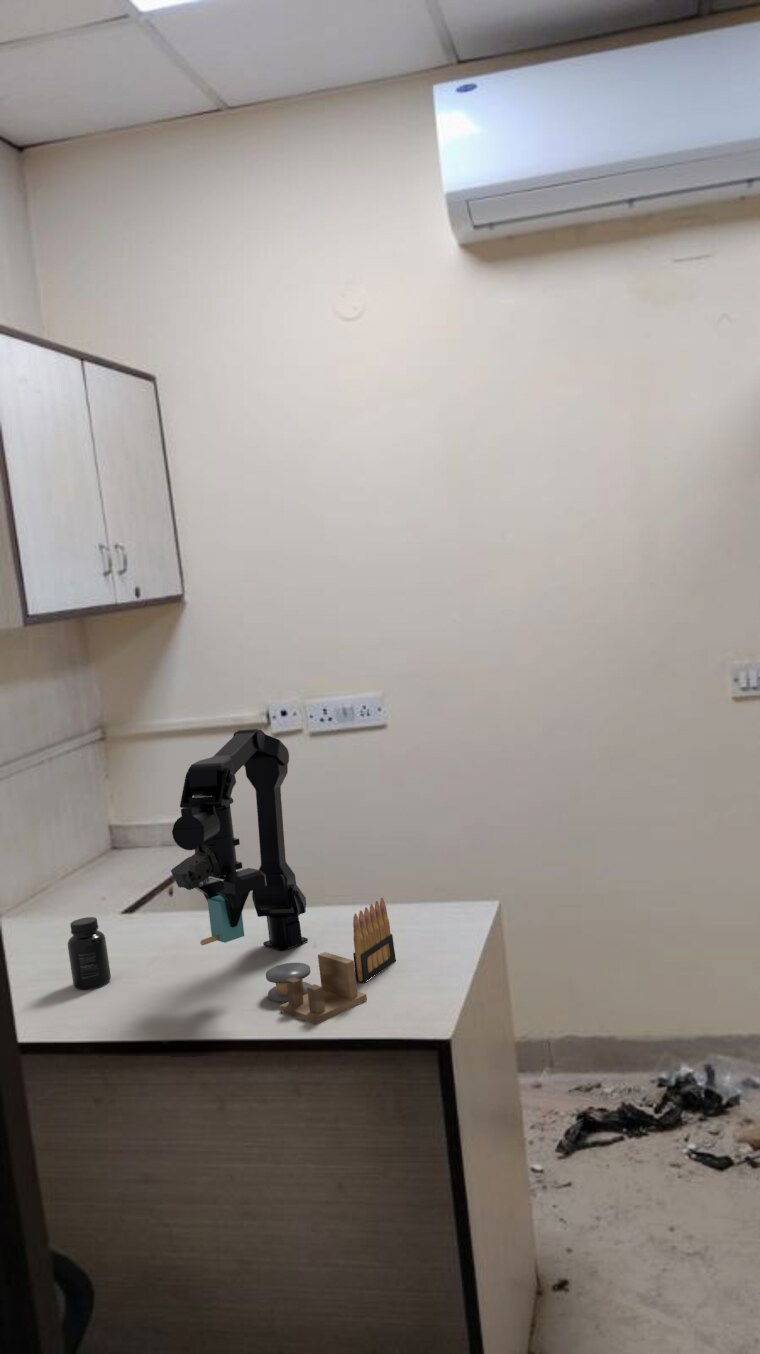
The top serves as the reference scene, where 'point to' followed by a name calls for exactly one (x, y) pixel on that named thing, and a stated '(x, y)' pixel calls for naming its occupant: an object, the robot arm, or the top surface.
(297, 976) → the spool
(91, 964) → the supplement bottle
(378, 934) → the ammunition clip
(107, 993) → the top surface
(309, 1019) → the notch board
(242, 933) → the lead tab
